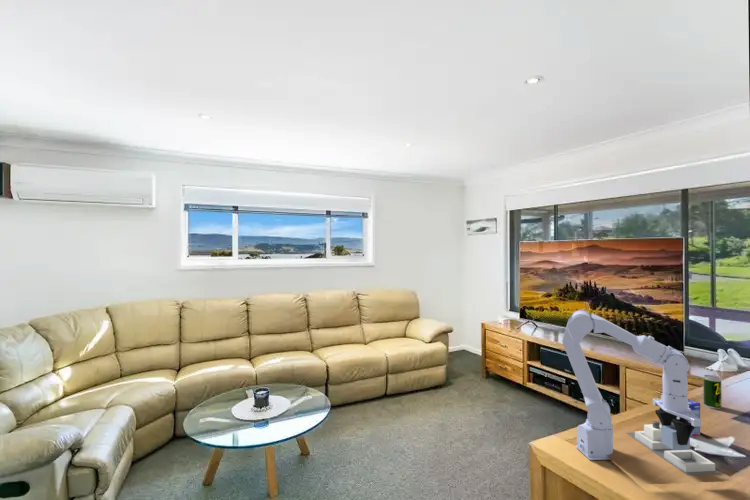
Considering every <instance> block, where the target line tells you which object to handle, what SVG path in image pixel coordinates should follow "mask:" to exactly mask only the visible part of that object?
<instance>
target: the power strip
mask: <svg viewBox="0 0 750 500" xmlns="http://www.w3.org/2000/svg"><path fill="white" fill-rule="evenodd" d="M625 434H626V435H628V436H630V437H631V438H632V439H633V440H635V441H637V442H638V443H639V444H640V445H642V446H644V447H645V448H647V449H648V450H650V451H651V452H653V453H654V454H655V455H657V456H658V457H659V458H661V459H663V460H664V461H666V462H667V463H669V464H670V465H672V466H673V467H674V468H676V469H678V470H679V471H681V472H682V473H683V474H684V475H686V476H695V475H696V476H697V475H699V476H700V475H720V474H721V475H722V474H723V473H722V472H720V471H719V470H717V469H716V463H715V462H713V461H711V460H710V459H708V458H706V457H704V456H703V455H701V454H700V453H698V452H696V451H694V450H693V449H686V450H672V449H670V448H669V447H667V446H666V445H664V444H663V443H662V441H652V440H650V439H649V438H647V437H646V436H644V430H636V431H634V432H625Z"/></svg>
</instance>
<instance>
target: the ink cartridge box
mask: <svg viewBox="0 0 750 500" xmlns="http://www.w3.org/2000/svg"><path fill="white" fill-rule="evenodd" d="M688 395H690V394H689V392H688ZM660 399H661V400H663V393H662V394H660ZM688 408H690V409H691V413H693V414H694V415H695V416H696V417H698V418H699V419H701V403H700V402H698V401H695V400H693V399H690V398H688ZM676 419H680V418H679V417H677V418H676ZM660 425H661V426H662V424H661V423H660ZM699 436H701V426H699V427H695V428H694V430H693V431H692V433H691V435H690V438H692V437H693V438H694V437H699Z"/></svg>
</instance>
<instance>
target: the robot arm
mask: <svg viewBox="0 0 750 500" xmlns="http://www.w3.org/2000/svg"><path fill="white" fill-rule="evenodd" d="M592 331H593V334H602V333H604V334H607V335H609V336H611V337H612V338H615V339H617V340H619V341H621V342H622V343H626V344H628V345H630V346H631V347H632V349H633V352H634V353H635V354H638V355H640V356H642V357H644V358H646V359H647V360H649V361H652V362H653V363H655V364H657V365H663V366H662V378H661V379H662V380H661V381H662V382H661V383H662V394H663V400H661V398H652V406H654V407H659V409H655V414H656V416H657V417H658V419H659V421H660V422H659V423H660V425H661V424H662V425H661V426H669V425H671V422H673V423H674V425H675V428H676V432H677V441H678V444H679V445H687V443H688V440H689V437H690V435H691V433H692V431H693V430H694V428H695V427H699V426H700V427H702V419H701V418H700V419H699V418H698V417H696V416H695V415H694V414H693V413H691V409H690V408H688V399H689V394H688V393H689V388H688V387H689V385H688V372H689V370H690V368H691V364H690V363H689V360H688V359H687V357H685V356H684V354H683V353H682V352H681V351H679V350H678V349H676V348H673V347H672V346H670V345H668V346H666V345H665V344H663V343H661V342H658V341H657V340H655V337H653V336H652V335H648V336H647V335H643V334H642V335H635V334H633V333H632V332H629V331H628V330H626V329H624V328H622V327H620V326H618V325H617V324H614V323H613V322H611V321H609V320H607V319H605V318H604V317H601V316H599V315H597V314H595V313H590V312H588V311H587V310H586V309H585V310H583V309H578V310H576V311H574V312H573V313H572V314H571V315H570V317H569V318H568V320H567V324H566V326H565V330H564V334H563V337H562V340H561V341H562V346H563V348H564V350H565V352H566V355H567V357H568V360H569V362H570V365H571V368H572V371H573V373H574V374H575V375H574V376H575V379H576V380H577V383H578V386H579V387H580V391H581V393H582V395H583V399H584V403H585V406H586V409H587V416H586V417H587V418H586V419H585V422H583V423H582V424H578V426H577V427H576V445H575V448H576V449H577V450H578V451H580V453H582V455H583V456H585V458H587V459H588V460H590V461H597V460H598V461H602V460H603V461H604V460H605V461H606V460H607V461H608V460H613V458H612V457H610V456H609V455H612V454H614V429H613V428H614V425H613V423H612V421H613V419H612V416H611V407H610V405H609V403H608V402H607V401H606V400H605V399H604V398H603V396H602V394H601V392H600V390H599V388H598V385H597V383H596V380H595V379H594V375H593V373H592V370H591V368H590V366H589V364H588V360H587V358H586V356H585V353H584V351H583V348H582V346H581V344H580V343H581V342H582V341H583V339H584V337H585V336H587V335H589V334H590V332H592ZM677 417H679V418H680V419H676V418H677ZM690 438H691V437H690Z"/></svg>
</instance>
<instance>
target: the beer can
mask: <svg viewBox="0 0 750 500" xmlns="http://www.w3.org/2000/svg"><path fill="white" fill-rule="evenodd" d="M702 380H703V383H702V384H703V386H702V387H703V390H702V391H703V393H702V394H703V404H704V407H705V408H707V409H712V410H721V408H722V403H723V402H722V401H723V400H722V379H721V377H720V376H718V375H715V374H713V375H712V374H704V375H703V379H702Z"/></svg>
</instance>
